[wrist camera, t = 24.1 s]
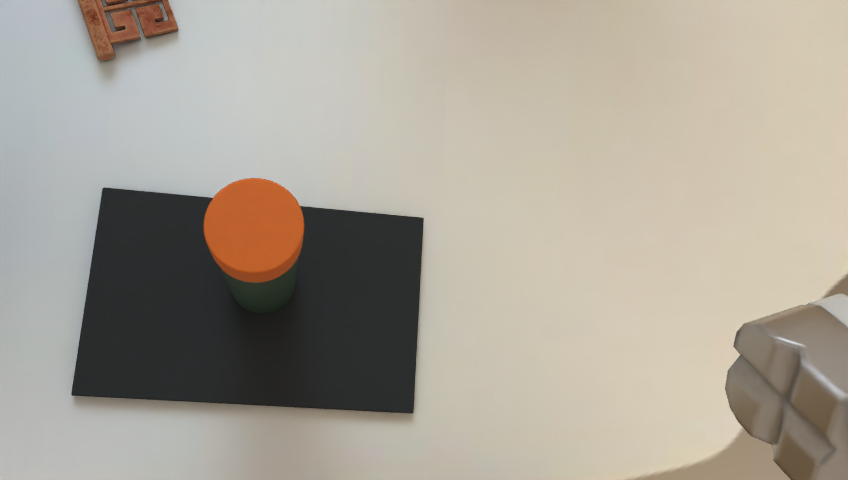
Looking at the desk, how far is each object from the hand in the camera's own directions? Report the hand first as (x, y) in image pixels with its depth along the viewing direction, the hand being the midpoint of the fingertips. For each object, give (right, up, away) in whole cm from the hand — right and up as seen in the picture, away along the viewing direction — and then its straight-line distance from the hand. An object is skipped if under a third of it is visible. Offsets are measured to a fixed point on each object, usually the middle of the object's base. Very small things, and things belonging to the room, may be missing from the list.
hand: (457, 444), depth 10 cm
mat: (-9, -1, +28) cm, 30 cm away
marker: (-8, +1, +28) cm, 29 cm away
